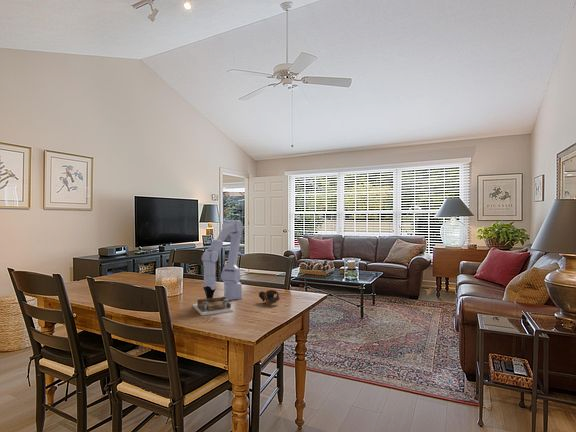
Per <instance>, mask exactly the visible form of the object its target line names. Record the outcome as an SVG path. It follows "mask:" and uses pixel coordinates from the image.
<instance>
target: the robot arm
mask: <svg viewBox="0 0 576 432" xmlns="http://www.w3.org/2000/svg"><path fill="white" fill-rule="evenodd" d="M221 227H222V228H221V230H220V232H219V234H218V236H217V238H216V239H213V241H212V242H211V243H210V245H209V246H208V248H207V250H206V251H204V252H203V253H202V255H201V258H200V259H201V261H202V264H203V282H202V283H201V286H204V287H202V288H203V291H204V293H205V296H206V297H205V299H208V298H214V294H215V292H216V289H217V286H216V284H217V282H216V262H217V261H218V259H219V254H220V252H221V250H222V248H223V247H224V243H223V242H224V241H225V239H226V238H228V236H230V244H229V250H228V258H227V264H226V265H225V266H223V268H222V270H221V274H220V279H221V281H222V283H223V296H222V297H226V299H228V301H232V300H233V301H234V300H240V299H243V297H242V295H243V294H242V293H243V292H242V291H243V289H242V282H240V280H241V268H240V267H238V259H239V250H240V245H241V236H242V234H243V227H244V224H243V222H242V221H241V219H237V220H236V219H235V220H234V219H225V220H223V222H222V224H221Z"/></svg>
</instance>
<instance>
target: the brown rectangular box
mask: <svg viewBox="0 0 576 432" xmlns="http://www.w3.org/2000/svg"><path fill="white" fill-rule="evenodd" d="M223 299H226V297H223V296H219V297H213V298H208V299H207V298H202V299H197V303H198V304H197V303H196V304H197V307H198V308H199V309H200V310H201V311H204V304H203V302H205V301H207V302H208V304H207V309H208V310H217V309H224V306H225V304H224V302H223ZM227 307H229V308H232V303H230V302H229V301H228V302H227Z"/></svg>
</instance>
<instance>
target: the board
mask: <svg viewBox="0 0 576 432" xmlns="http://www.w3.org/2000/svg"><path fill="white" fill-rule="evenodd" d="M223 302H224V304H225V306H224V309H217V310H208V309H207V304H208V302H207V301H205V302H203V304H204V311H201V310H200V309H199V308H198V307H197V304H198V302H197V303H192V307H193V308H194V309H195V311H197V313H199V315H201V316H208V315H217V314H224V313H229V312H230V313H231V312H234V309H233V308H232V307H231V308H229V307H227V302H229V300H228V299H223Z"/></svg>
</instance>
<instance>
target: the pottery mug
mask: <svg viewBox="0 0 576 432" xmlns="http://www.w3.org/2000/svg"><path fill="white" fill-rule="evenodd" d="M274 295H276V296H274ZM258 296H259V298H260V299H261V300H262V302H264V303H265V306H267V307H268V306H269V305H272V304H274V303H277V302H279V300H281V299H280V298H281V297H280V294H279V292H278V291H277V290H274V289H268V290H266V291H265V292H264V291H260V292H259V293H258Z"/></svg>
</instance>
